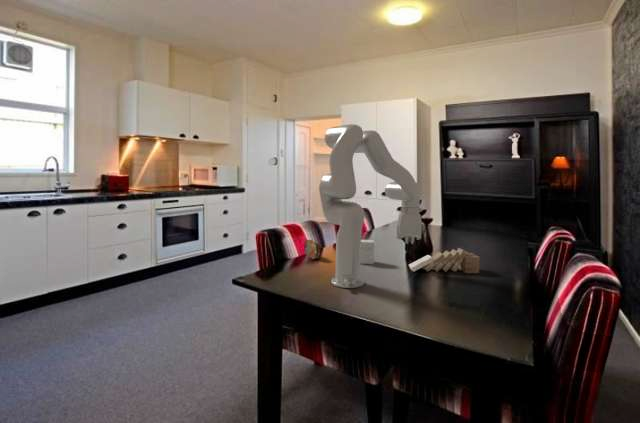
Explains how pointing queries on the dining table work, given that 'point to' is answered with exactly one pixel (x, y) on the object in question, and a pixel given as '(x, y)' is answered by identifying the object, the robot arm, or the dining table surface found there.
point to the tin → (312, 249)
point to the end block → (470, 263)
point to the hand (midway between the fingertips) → (408, 252)
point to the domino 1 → (421, 263)
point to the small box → (367, 252)
